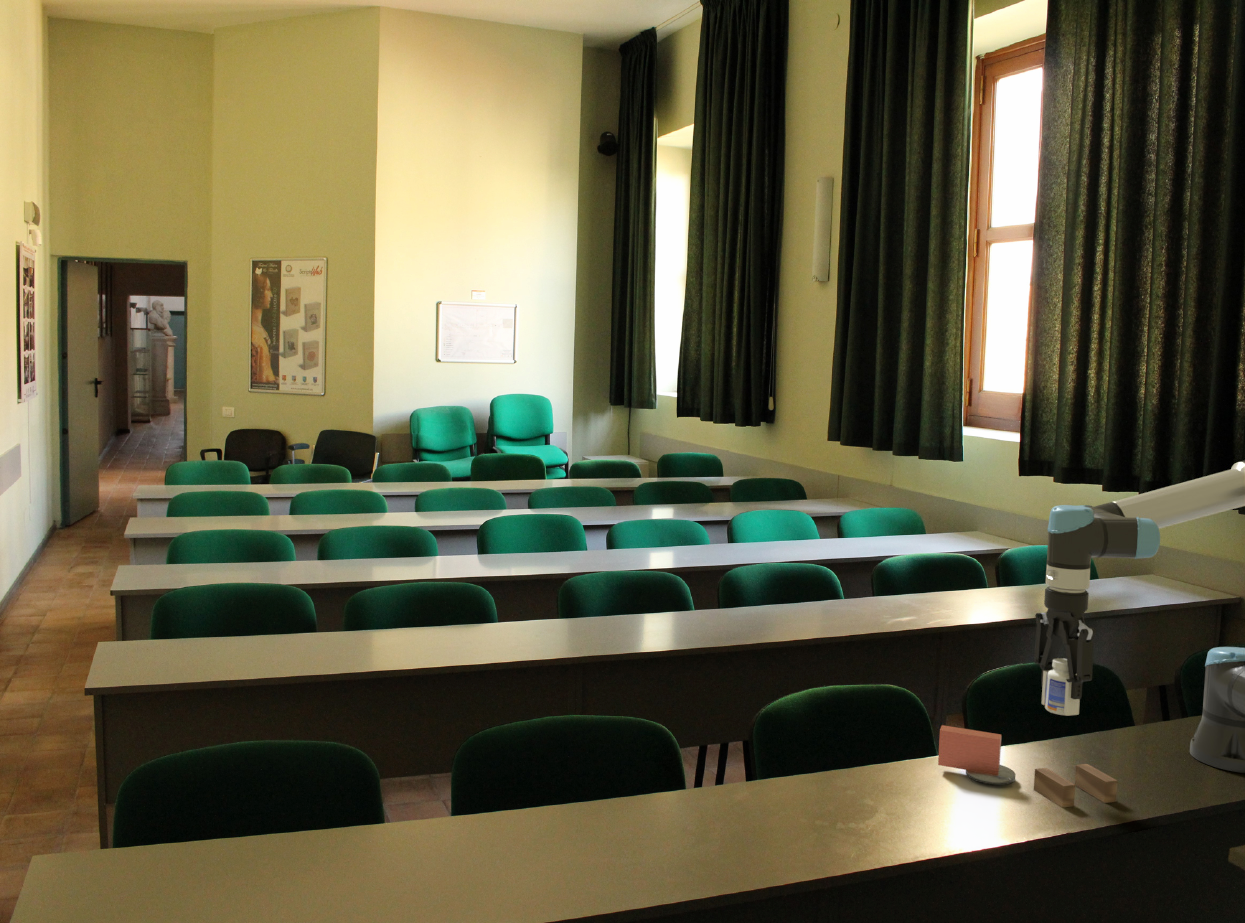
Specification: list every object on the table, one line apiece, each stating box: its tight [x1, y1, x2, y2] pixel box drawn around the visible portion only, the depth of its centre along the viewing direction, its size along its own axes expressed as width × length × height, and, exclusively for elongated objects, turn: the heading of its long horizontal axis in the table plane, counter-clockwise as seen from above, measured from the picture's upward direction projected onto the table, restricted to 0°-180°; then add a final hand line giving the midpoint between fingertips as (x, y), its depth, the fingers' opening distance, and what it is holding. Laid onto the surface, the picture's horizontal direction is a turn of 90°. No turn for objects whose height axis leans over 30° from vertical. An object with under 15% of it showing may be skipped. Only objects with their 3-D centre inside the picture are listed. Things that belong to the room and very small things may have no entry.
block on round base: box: [937, 724, 1016, 786], centre depth 198 cm, size 9×14×8 cm, turn 65°
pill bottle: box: [1044, 657, 1077, 716], centre depth 194 cm, size 5×5×10 cm
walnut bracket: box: [1033, 763, 1118, 808], centre depth 190 cm, size 12×8×4 cm
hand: (1059, 708), depth 195 cm, fingers closed on pill bottle, 5 cm apart
